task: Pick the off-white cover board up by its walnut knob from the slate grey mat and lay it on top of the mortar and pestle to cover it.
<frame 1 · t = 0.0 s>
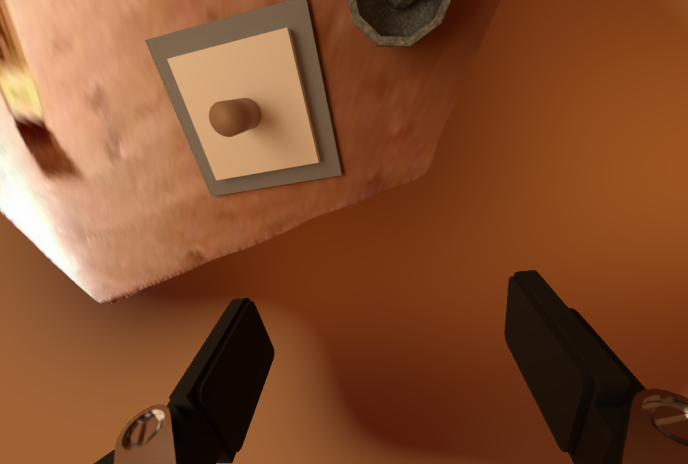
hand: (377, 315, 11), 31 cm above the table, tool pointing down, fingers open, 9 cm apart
cover board: (250, 112, 37), point 1 cm above the table, touching slate mat
slate mat: (252, 112, 38), on the table
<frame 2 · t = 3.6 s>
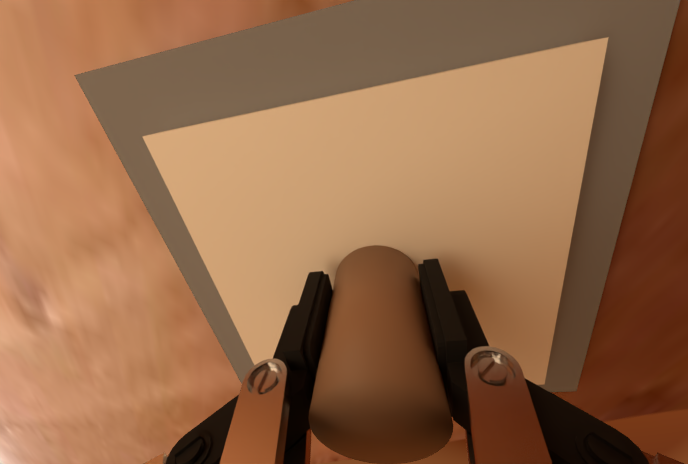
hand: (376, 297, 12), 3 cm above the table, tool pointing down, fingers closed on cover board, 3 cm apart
cover board: (376, 265, 14), point 1 cm above the table, touching gripper, slate mat
slate mat: (376, 258, 14), on the table
when the fingers open (16 cm above the table, at t = 10.1 s): cover board drops 2 cm, resting on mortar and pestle.
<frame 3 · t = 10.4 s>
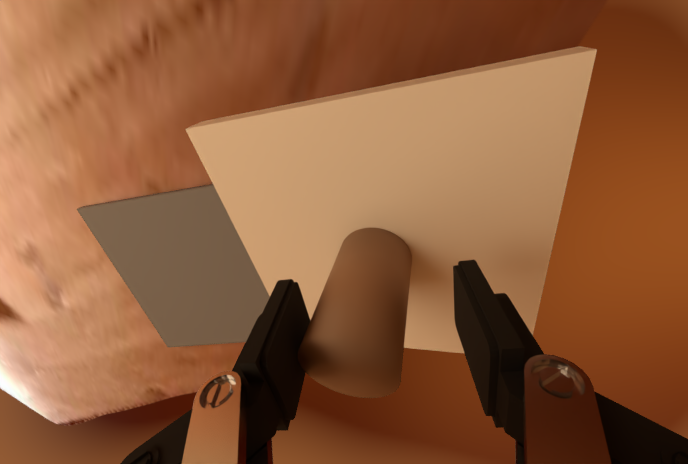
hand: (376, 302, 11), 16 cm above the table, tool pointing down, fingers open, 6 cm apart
cover board: (378, 242, 15), point 11 cm above the table, tilted 12°, touching gripper, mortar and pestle
slate mat: (208, 275, 32), on the table
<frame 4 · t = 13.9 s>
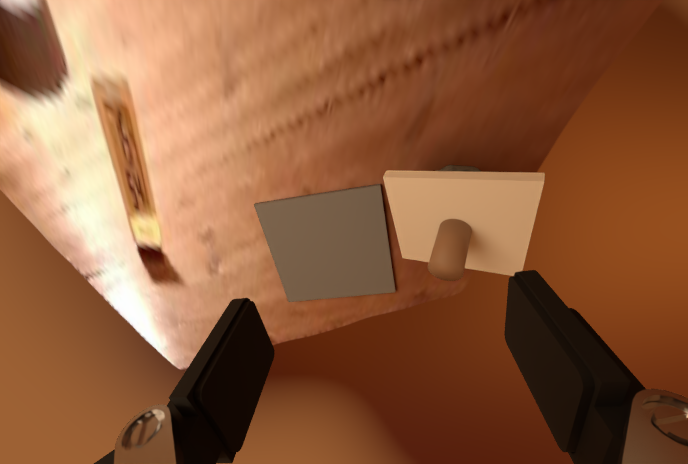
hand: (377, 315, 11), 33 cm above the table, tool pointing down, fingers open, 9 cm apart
cover board: (457, 222, 34), point 9 cm above the table, tilted 30°
slate mat: (329, 249, 49), on the table
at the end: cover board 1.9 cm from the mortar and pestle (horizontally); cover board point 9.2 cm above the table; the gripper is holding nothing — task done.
